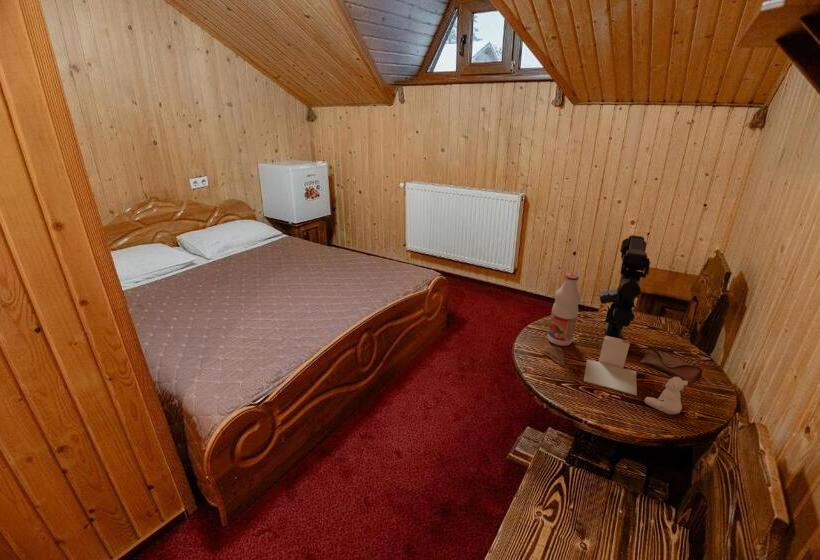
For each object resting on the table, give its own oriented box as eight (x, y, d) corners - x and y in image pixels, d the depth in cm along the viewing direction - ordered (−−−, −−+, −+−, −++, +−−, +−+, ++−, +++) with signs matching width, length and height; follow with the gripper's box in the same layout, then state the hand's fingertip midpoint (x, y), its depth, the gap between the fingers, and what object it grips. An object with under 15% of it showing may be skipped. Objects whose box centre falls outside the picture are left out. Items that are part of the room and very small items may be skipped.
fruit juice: (575, 346, 156) (589, 280, 145) (550, 345, 156) (562, 279, 145) (567, 334, 164) (580, 270, 153) (544, 333, 165) (555, 270, 154)
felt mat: (586, 360, 148) (587, 359, 147) (635, 372, 141) (636, 371, 141) (583, 381, 136) (583, 380, 136) (636, 395, 130) (636, 394, 129)
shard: (563, 368, 144) (564, 363, 143) (541, 364, 146) (542, 359, 145) (562, 352, 153) (563, 348, 152) (542, 348, 155) (542, 344, 155)
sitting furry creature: (665, 396, 130) (675, 364, 125) (689, 413, 122) (701, 381, 118) (642, 401, 127) (651, 370, 122) (665, 420, 120) (677, 387, 115)
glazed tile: (599, 358, 149) (604, 335, 145) (623, 364, 145) (629, 341, 142) (598, 362, 147) (604, 338, 143) (623, 368, 143) (629, 344, 139)
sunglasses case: (637, 361, 147) (645, 345, 147) (641, 363, 152) (649, 347, 152) (694, 385, 135) (702, 367, 135) (696, 386, 140) (704, 369, 140)
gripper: (604, 274, 152) (596, 310, 158) (602, 292, 136) (593, 332, 143) (637, 279, 147) (628, 317, 154) (639, 299, 132) (628, 340, 138)
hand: (618, 326), depth 147 cm, fingers open, 5 cm apart
